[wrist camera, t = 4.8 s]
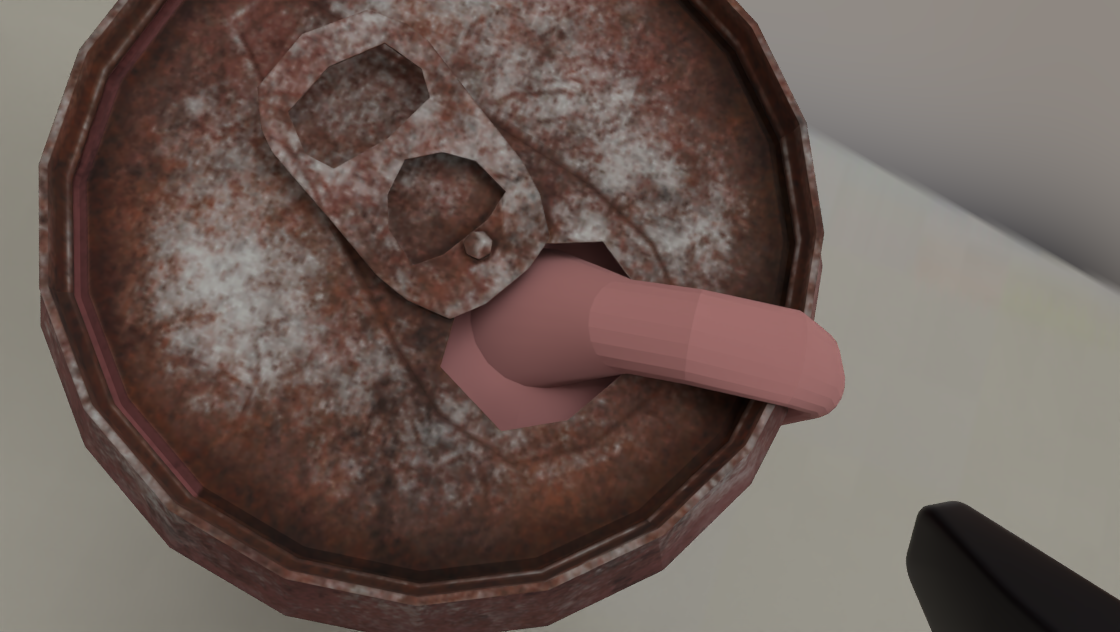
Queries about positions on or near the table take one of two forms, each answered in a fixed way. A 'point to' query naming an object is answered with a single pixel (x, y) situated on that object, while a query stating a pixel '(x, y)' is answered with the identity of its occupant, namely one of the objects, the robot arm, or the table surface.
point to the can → (432, 291)
